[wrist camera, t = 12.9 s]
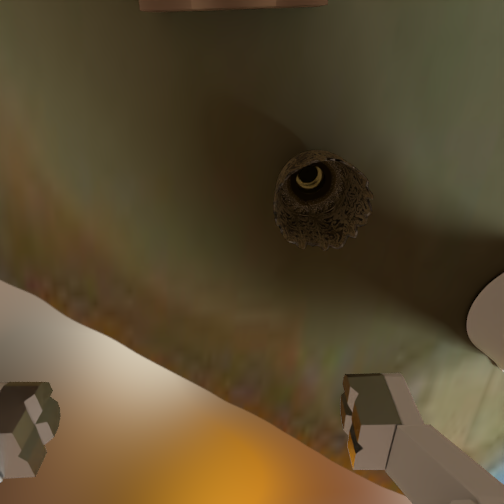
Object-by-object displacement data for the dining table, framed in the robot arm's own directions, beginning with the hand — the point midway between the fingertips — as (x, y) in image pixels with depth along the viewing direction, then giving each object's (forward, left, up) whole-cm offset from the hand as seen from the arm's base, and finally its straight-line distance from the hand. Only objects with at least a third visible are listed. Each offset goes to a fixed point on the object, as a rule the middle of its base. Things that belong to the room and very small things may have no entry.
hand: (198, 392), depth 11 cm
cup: (-7, +3, -27) cm, 29 cm away
